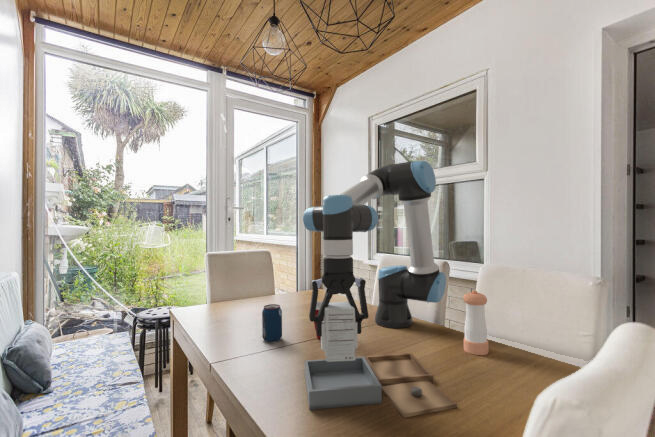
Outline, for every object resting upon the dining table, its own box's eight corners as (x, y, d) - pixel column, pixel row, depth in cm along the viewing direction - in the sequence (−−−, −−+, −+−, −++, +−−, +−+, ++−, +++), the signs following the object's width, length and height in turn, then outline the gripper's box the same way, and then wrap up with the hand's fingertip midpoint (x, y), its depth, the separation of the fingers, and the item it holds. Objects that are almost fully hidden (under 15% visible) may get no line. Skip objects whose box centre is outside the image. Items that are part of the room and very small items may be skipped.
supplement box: (323, 350, 85) (322, 302, 86) (351, 349, 86) (351, 301, 86) (325, 362, 78) (325, 309, 78) (356, 361, 79) (355, 308, 79)
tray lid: (426, 382, 84) (426, 374, 84) (456, 407, 73) (456, 398, 73) (380, 390, 81) (380, 381, 81) (404, 417, 69) (404, 408, 69)
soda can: (285, 338, 119) (285, 304, 119) (275, 344, 112) (274, 309, 112) (269, 335, 121) (269, 303, 122) (258, 341, 115) (258, 307, 115)
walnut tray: (411, 359, 99) (411, 353, 99) (433, 382, 84) (433, 375, 85) (364, 362, 97) (364, 356, 97) (378, 386, 83) (378, 379, 83)
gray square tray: (364, 371, 91) (363, 356, 91) (381, 403, 75) (381, 385, 75) (304, 375, 89) (304, 360, 89) (309, 409, 73) (309, 391, 73)
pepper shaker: (487, 347, 107) (485, 289, 107) (490, 356, 100) (488, 293, 100) (462, 345, 109) (461, 287, 110) (464, 353, 102) (463, 292, 103)
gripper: (373, 254, 88) (374, 340, 87) (297, 256, 85) (297, 344, 85) (381, 256, 80) (382, 350, 80) (298, 259, 77) (299, 356, 77)
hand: (339, 347), depth 82 cm, fingers closed on supplement box, 7 cm apart
